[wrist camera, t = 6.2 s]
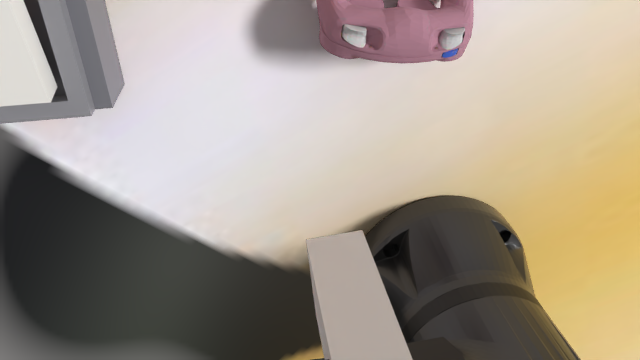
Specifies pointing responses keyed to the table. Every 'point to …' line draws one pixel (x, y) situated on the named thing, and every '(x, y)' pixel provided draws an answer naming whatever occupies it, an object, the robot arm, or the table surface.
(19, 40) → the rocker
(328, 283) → the robot arm
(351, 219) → the table surface
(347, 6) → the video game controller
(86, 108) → the power strip
